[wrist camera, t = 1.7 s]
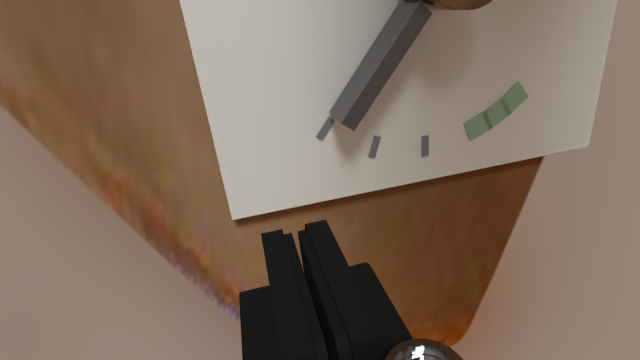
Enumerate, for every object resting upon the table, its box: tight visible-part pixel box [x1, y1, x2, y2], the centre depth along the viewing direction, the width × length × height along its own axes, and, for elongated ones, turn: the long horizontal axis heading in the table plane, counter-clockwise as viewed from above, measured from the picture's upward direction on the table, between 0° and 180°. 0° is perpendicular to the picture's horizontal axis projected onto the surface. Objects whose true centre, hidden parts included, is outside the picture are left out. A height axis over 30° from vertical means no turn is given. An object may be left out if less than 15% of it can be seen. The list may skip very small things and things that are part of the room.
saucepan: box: [329, 0, 493, 131], centre depth 22 cm, size 13×4×5 cm, turn 147°
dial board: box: [180, 0, 618, 220], centre depth 27 cm, size 18×30×1 cm, turn 97°
